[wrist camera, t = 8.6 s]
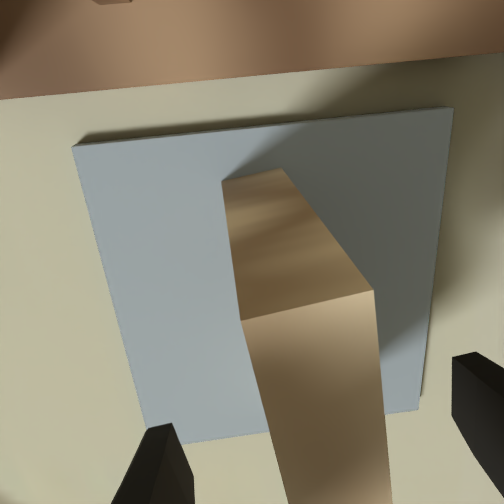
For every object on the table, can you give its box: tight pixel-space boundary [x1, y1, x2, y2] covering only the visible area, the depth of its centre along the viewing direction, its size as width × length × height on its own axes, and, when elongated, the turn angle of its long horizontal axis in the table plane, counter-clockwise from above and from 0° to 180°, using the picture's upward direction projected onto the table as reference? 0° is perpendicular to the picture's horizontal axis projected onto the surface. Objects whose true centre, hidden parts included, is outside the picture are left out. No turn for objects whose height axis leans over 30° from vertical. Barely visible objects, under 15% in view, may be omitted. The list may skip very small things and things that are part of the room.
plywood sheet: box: [221, 168, 393, 504], centre depth 12 cm, size 2×10×8 cm, turn 12°
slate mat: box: [71, 106, 454, 445], centre depth 16 cm, size 12×13×1 cm
